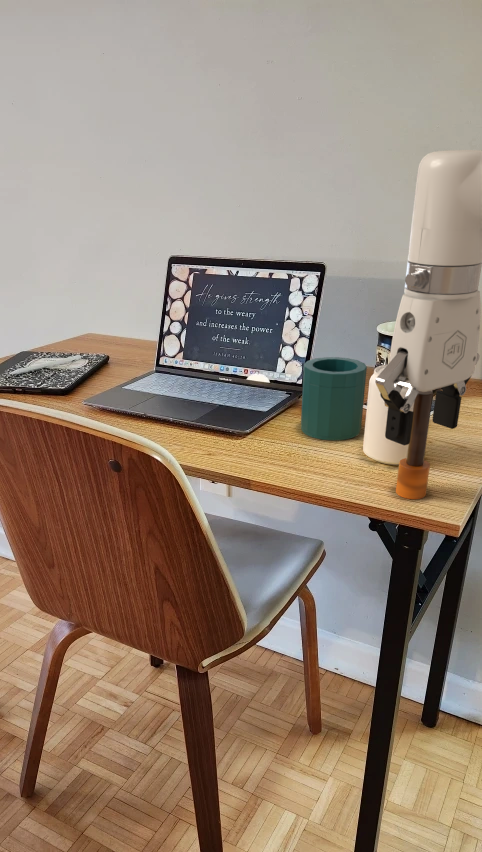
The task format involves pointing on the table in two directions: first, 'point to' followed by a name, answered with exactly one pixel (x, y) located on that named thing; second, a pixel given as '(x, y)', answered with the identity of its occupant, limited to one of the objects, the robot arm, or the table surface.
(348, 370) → the jar
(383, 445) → the beverage can
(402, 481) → the brown and orange pestle
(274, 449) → the table surface
